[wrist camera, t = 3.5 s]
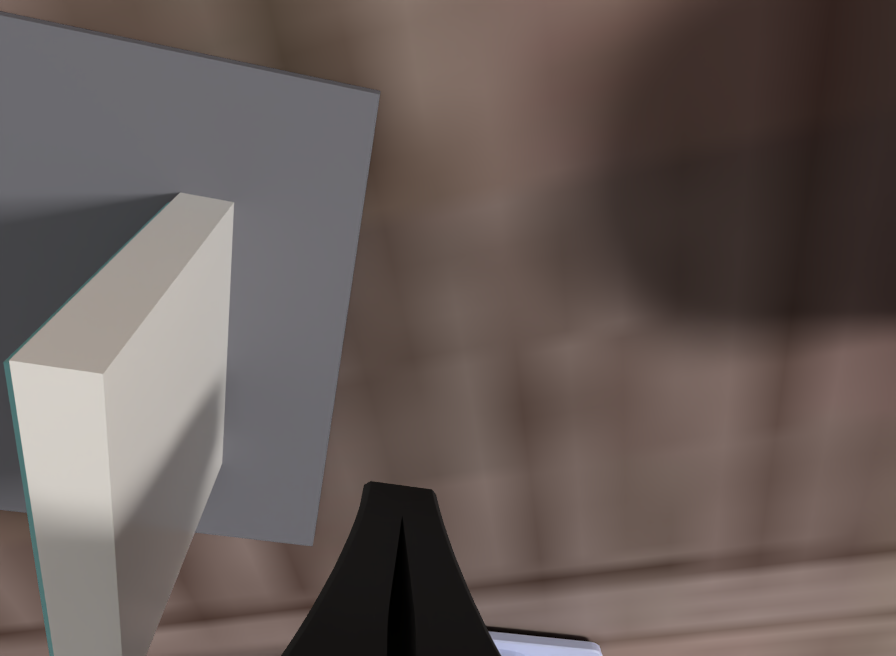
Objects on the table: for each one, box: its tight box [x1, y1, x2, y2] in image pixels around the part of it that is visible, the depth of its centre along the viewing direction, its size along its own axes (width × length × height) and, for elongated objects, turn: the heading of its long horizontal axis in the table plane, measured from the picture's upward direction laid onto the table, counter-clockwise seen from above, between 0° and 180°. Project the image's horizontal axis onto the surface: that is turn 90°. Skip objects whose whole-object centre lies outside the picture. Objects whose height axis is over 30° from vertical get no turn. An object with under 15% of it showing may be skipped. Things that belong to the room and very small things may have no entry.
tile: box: [3, 193, 234, 656], centre depth 14 cm, size 8×1×7 cm, turn 168°
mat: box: [0, 11, 380, 546], centre depth 17 cm, size 14×13×1 cm
